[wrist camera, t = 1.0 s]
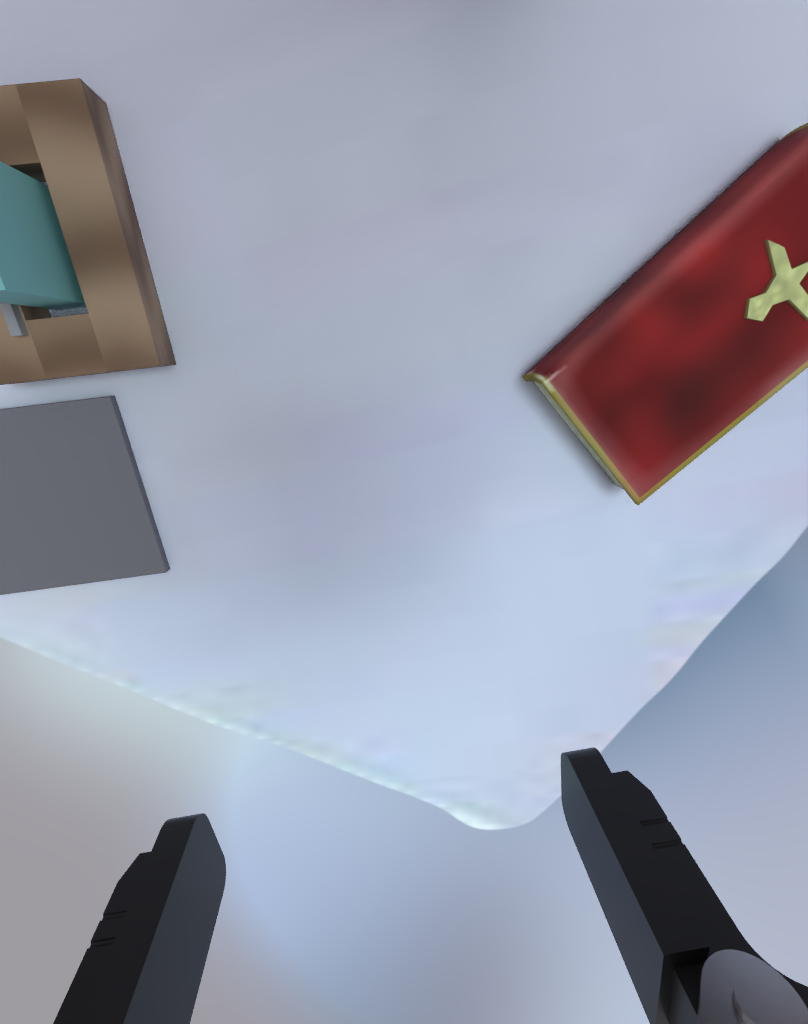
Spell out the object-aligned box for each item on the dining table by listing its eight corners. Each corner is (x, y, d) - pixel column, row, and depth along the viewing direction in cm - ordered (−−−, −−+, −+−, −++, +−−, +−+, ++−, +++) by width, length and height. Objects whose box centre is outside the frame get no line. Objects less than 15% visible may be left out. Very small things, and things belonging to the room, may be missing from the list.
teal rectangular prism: (20, 198, 27) (-114, 139, 19) (64, 194, 27) (-52, 134, 19) (58, 309, 29) (-50, 295, 21) (98, 305, 29) (5, 290, 21)
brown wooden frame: (-79, 120, 25) (-137, 91, 22) (105, 103, 26) (72, 71, 23) (21, 382, 30) (-16, 386, 27) (176, 364, 30) (156, 366, 28)
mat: (-86, 419, 30) (-95, 421, 30) (114, 395, 31) (109, 396, 30) (-4, 592, 35) (-10, 596, 34) (169, 568, 35) (166, 572, 35)
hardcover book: (519, 374, 33) (540, 378, 29) (772, 140, 29) (836, 107, 25) (610, 489, 37) (640, 506, 33) (846, 292, 33) (912, 285, 29)
